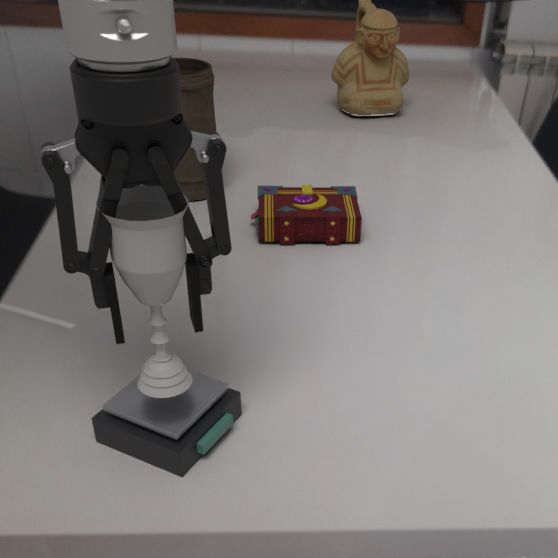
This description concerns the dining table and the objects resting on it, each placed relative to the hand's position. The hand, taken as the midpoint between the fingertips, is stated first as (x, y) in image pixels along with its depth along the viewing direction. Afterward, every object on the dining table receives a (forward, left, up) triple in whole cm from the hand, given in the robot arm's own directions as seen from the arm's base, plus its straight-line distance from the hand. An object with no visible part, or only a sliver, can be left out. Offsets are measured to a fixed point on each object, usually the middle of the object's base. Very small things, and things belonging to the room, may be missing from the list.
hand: (158, 329), depth 64 cm
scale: (0, 0, -12) cm, 12 cm away
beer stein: (-34, +47, -12) cm, 59 cm away
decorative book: (-10, +46, -12) cm, 48 cm away
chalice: (0, 0, -6) cm, 6 cm away
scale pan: (0, 0, -8) cm, 8 cm away
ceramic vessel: (-26, +105, -12) cm, 109 cm away
